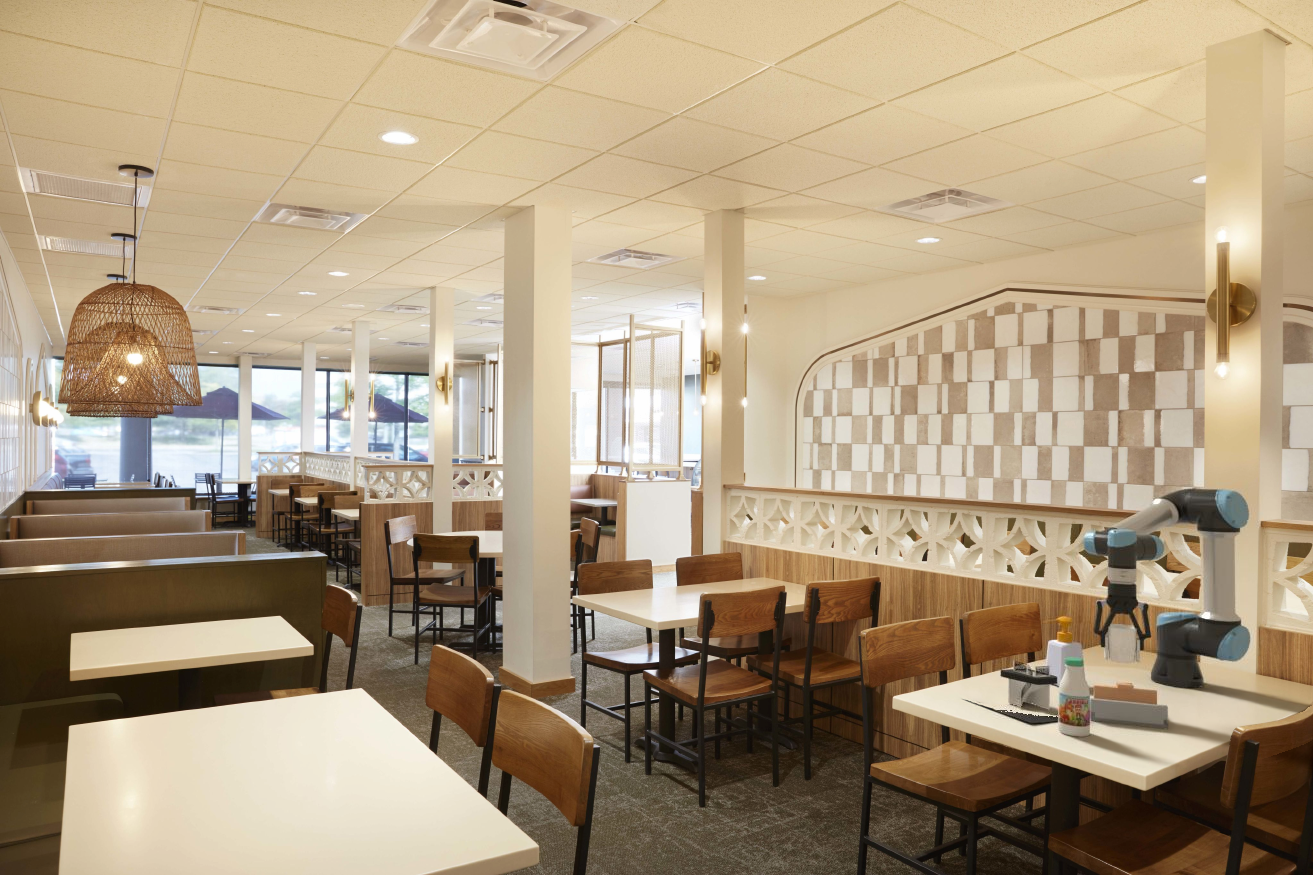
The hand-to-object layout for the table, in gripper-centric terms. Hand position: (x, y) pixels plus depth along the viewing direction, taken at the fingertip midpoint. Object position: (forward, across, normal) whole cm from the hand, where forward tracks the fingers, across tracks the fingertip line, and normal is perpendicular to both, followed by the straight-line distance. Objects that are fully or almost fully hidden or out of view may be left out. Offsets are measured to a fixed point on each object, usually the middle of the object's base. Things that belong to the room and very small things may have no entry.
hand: (1121, 659), depth 257 cm
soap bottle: (+15, -15, +25) cm, 33 cm away
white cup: (+1, 0, 0) cm, 1 cm away
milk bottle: (+15, -15, -28) cm, 35 cm away
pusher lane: (+15, 0, -4) cm, 16 cm away
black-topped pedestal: (+16, -25, -6) cm, 30 cm away
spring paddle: (+14, 0, -6) cm, 15 cm away
